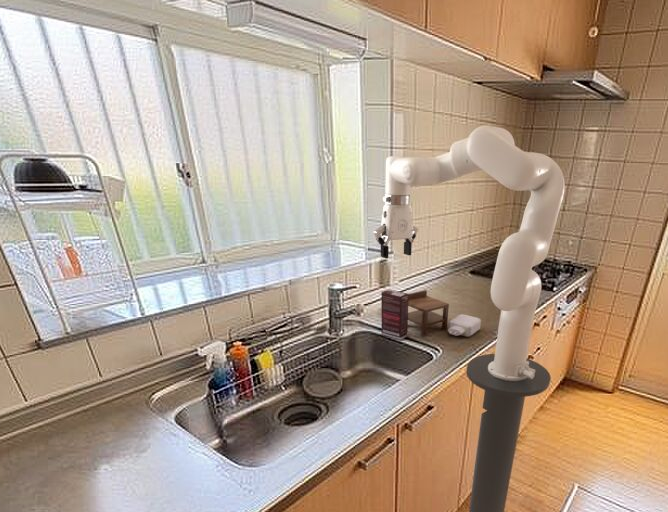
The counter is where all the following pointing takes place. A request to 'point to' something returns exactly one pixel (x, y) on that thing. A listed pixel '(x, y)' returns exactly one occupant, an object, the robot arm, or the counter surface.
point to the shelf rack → (426, 311)
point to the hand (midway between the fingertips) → (396, 256)
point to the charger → (464, 325)
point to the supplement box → (394, 314)
